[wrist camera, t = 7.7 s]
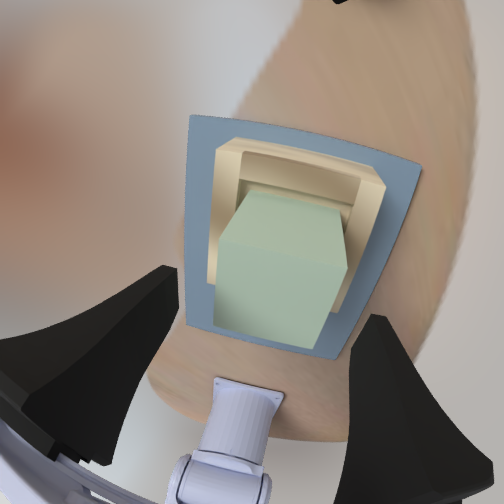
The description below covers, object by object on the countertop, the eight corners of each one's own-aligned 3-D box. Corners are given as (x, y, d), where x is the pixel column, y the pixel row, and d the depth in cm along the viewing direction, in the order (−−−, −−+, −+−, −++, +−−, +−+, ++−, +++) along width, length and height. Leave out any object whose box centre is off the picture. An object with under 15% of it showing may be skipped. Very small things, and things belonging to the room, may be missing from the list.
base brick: (336, 277, 19) (337, 313, 16) (223, 251, 20) (206, 282, 17) (372, 166, 15) (386, 186, 12) (236, 136, 15) (216, 149, 12)
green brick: (316, 280, 16) (312, 349, 12) (239, 262, 16) (212, 325, 12) (339, 209, 13) (347, 268, 9) (250, 189, 14) (219, 238, 10)
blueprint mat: (335, 356, 24) (335, 360, 24) (187, 321, 26) (186, 324, 25) (420, 164, 14) (422, 166, 14) (192, 114, 16) (189, 115, 15)
